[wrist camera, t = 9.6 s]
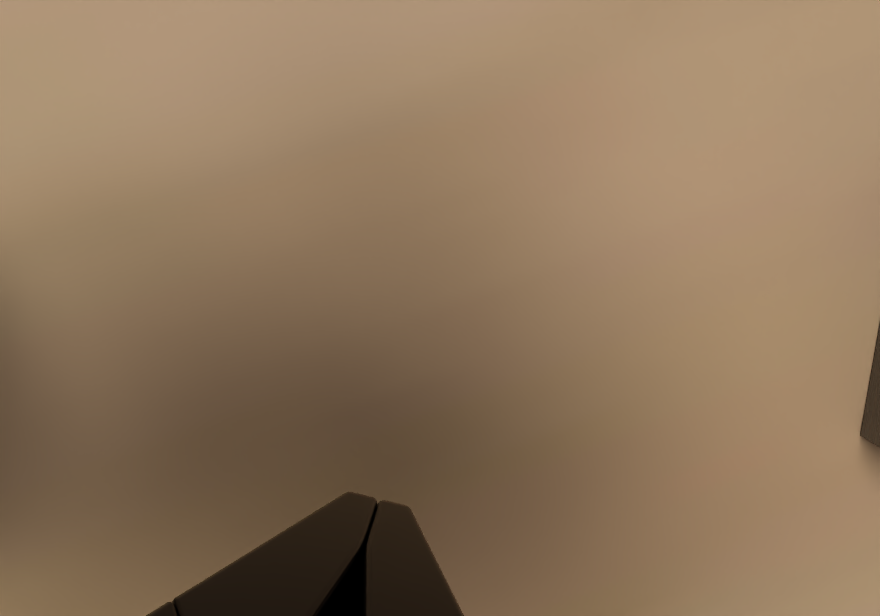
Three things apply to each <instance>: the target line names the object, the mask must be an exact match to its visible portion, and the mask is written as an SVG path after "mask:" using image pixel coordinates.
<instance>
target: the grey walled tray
mask: <svg viewBox="0 0 880 616" xmlns="http://www.w3.org/2000/svg"><path fill="white" fill-rule="evenodd" d="M861 436H862V437H864V438H866V439H867V440H869V441H870V442H872V443H873V444H875V445H877V446H878V447H880V327H879V333H878V339H877V344H876V350H875V356H874V361H873V367H872V373H871V378H870V384H869V390H868V396H867V401H866V407H865V413H864V418H863V424H862V430H861Z"/></svg>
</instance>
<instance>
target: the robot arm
mask: <svg viewBox="0 0 880 616" xmlns="http://www.w3.org/2000/svg"><path fill="white" fill-rule="evenodd" d="M146 616H464V615H463V613H462V611H461V609H460V607H459V605H458V603H457V601H456V599H455V597H454V595H453V593H452V591H451V589H450V587H449V585H448V583H447V581H446V579H445V577H444V575H443V573H442V571H441V569H440V567H439V565H438V563H437V561H436V559H435V557H434V555H433V553H432V551H431V549H430V547H429V545H428V543H427V541H426V539H425V537H424V535H423V533H422V531H421V529H420V527H419V525H418V523H417V521H416V519H415V517H414V515H413V513H412V511H411V509H410V508H409V507H408V506H405V505H401V504H397V503H393V502H389V501H385V500H382V501H380V502H379V503H378V505H377V501H376V499H375V498H373V497H369V496H365V495H361V494H357V493H353V492H347V493H345V494H343V495H341V496H340V497H338V498H336V499H335V500H333V501H332V502H330V503H328V504H327V505H325V506H324V507H322V508H320V509H319V510H317V511H315V512H314V513H312V514H311V515H309V516H307V517H306V518H304V519H302V520H301V521H299V522H298V523H296V524H294V525H293V526H291V527H289V528H288V529H286V530H285V531H283V532H281V533H280V534H278V535H277V536H275V537H273V538H272V539H270V540H268V541H267V542H265V543H264V544H262V545H260V546H259V547H257V548H255V549H254V550H252V551H251V552H249V553H247V554H246V555H244V556H242V557H241V558H239V559H238V560H236V561H234V562H233V563H231V564H229V565H228V566H226V567H225V568H223V569H221V570H220V571H218V572H217V573H215V574H213V575H212V576H210V577H208V578H207V579H205V580H204V581H202V582H200V583H199V584H197V585H195V586H194V587H192V588H191V589H189V590H187V591H186V592H184V593H182V594H181V595H179V596H178V597H176V598H175V599H174V600H173V601H172V602H167V603H166V604H164V605H162V606H161V607H159V608H158V609H156V610H154V611H153V612H151V613H150V614H148V615H146Z"/></svg>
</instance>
